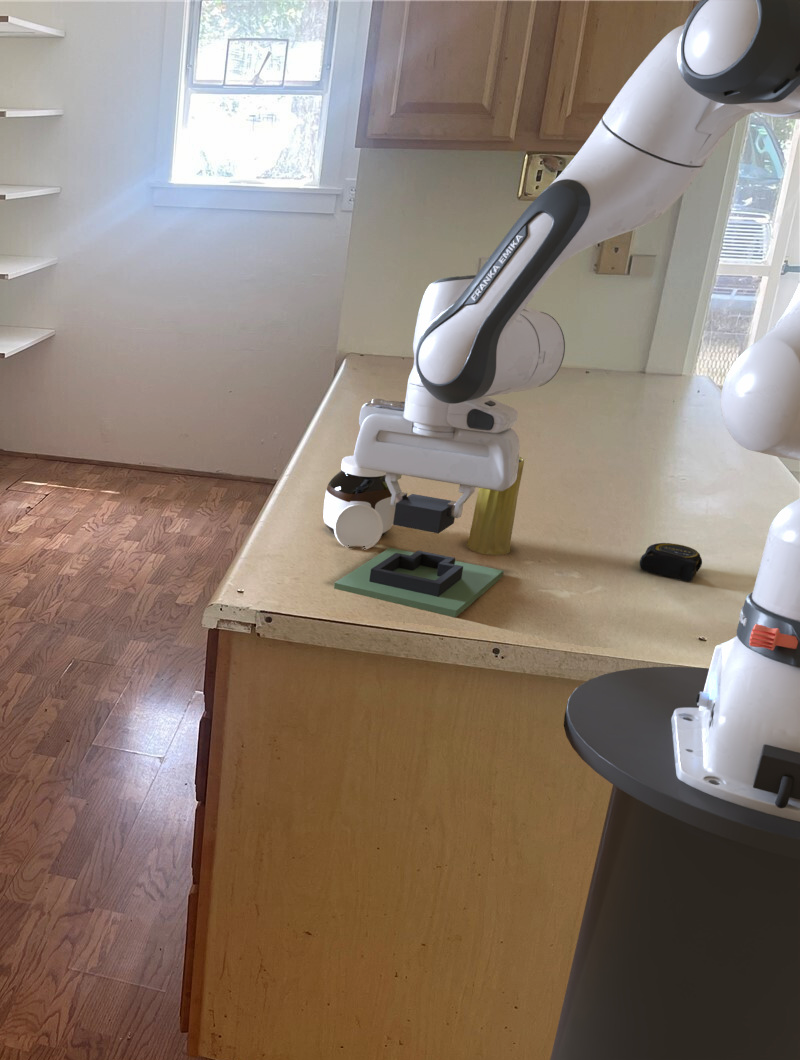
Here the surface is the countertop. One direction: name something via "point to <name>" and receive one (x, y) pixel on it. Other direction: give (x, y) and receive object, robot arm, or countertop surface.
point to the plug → (423, 513)
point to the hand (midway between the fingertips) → (425, 511)
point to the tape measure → (671, 561)
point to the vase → (494, 518)
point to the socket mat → (421, 581)
